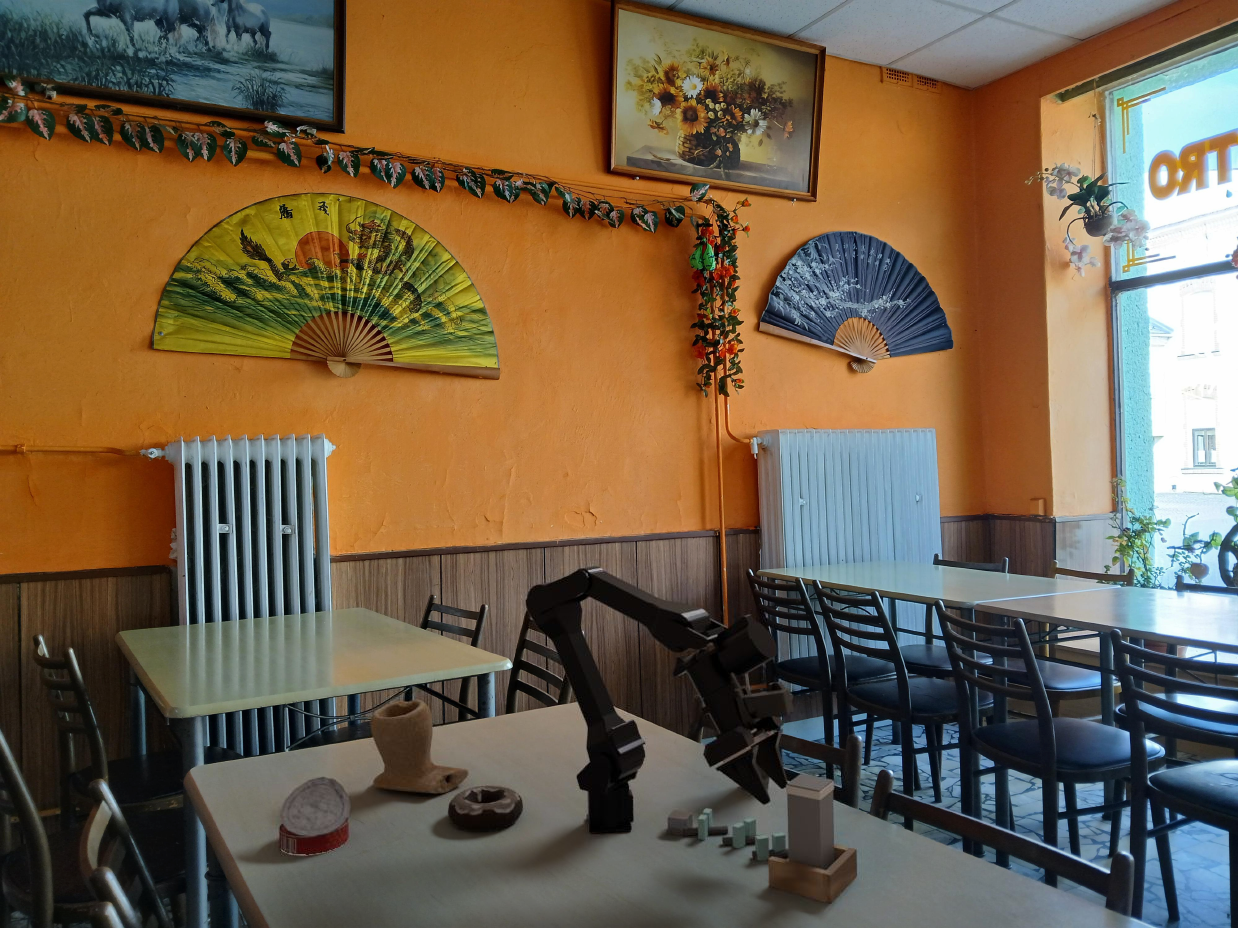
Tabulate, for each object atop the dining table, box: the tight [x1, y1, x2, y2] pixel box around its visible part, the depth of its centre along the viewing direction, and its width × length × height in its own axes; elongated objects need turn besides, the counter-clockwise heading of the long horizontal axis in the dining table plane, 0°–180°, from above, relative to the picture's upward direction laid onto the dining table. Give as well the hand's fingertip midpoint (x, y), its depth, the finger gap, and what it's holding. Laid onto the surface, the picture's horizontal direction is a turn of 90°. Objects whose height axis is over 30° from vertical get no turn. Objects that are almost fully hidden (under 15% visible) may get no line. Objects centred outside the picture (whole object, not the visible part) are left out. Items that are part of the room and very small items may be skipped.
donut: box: [447, 784, 524, 832], centre depth 140 cm, size 12×12×4 cm
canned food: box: [278, 776, 352, 855], centre depth 133 cm, size 11×10×10 cm
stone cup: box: [370, 699, 470, 794], centre depth 154 cm, size 15×12×15 cm
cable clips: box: [697, 807, 787, 861], centre depth 129 cm, size 6×14×3 cm, turn 46°
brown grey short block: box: [667, 809, 694, 837], centre depth 134 cm, size 3×3×2 cm
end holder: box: [768, 843, 858, 904], centre depth 117 cm, size 8×9×4 cm
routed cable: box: [682, 825, 789, 859], centre depth 129 cm, size 13×10×1 cm
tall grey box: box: [785, 773, 835, 870], centre depth 117 cm, size 5×5×13 cm
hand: (776, 794), depth 121 cm, fingers open, 9 cm apart
